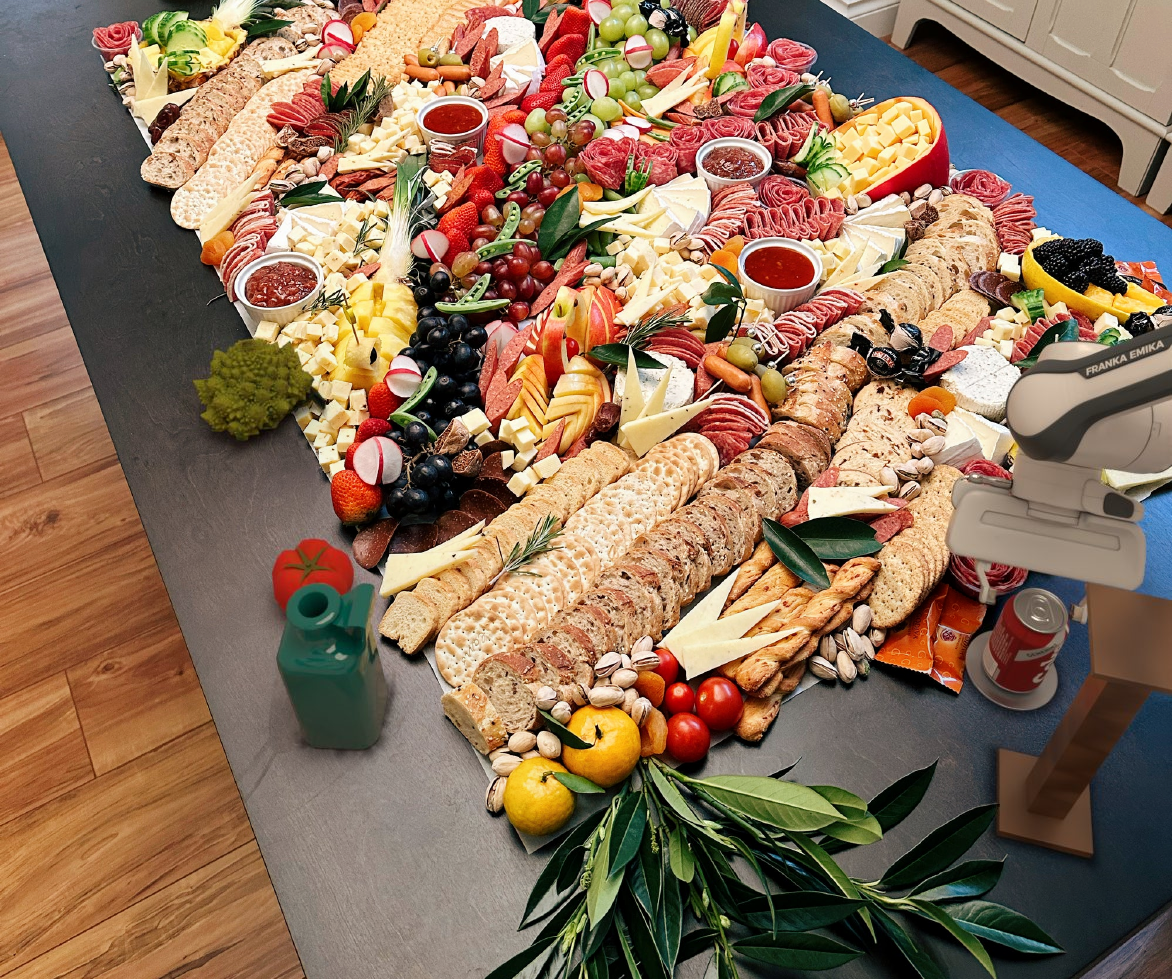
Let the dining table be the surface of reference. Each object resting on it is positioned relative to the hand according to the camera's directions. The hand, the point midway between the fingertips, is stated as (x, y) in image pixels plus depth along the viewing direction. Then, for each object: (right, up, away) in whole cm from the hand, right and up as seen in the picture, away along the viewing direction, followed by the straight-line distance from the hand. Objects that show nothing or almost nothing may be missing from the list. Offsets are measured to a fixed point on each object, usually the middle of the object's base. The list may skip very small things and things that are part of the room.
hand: (1031, 612), depth 122 cm
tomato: (-81, -1, +12) cm, 82 cm away
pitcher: (-74, -12, +1) cm, 75 cm away
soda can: (0, -8, +5) cm, 9 cm away
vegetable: (-94, +20, +34) cm, 102 cm away
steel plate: (0, -8, +5) cm, 9 cm away
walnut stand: (-1, -18, -6) cm, 19 cm away
